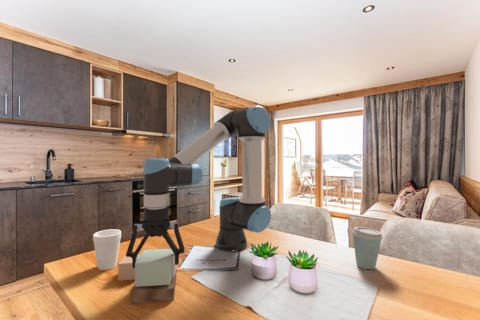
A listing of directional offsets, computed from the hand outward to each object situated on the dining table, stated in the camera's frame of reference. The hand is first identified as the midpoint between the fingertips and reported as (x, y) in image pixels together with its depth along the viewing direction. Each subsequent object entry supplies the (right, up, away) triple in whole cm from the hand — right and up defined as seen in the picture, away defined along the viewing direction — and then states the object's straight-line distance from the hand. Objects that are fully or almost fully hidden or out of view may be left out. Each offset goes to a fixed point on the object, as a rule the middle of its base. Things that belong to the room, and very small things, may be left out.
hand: (156, 275), depth 76 cm
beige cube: (-12, -5, +10) cm, 16 cm away
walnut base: (0, -5, 0) cm, 5 cm away
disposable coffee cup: (+77, -5, +18) cm, 79 cm away
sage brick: (0, 0, 0) cm, 0 cm away
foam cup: (-25, -4, +16) cm, 30 cm away
